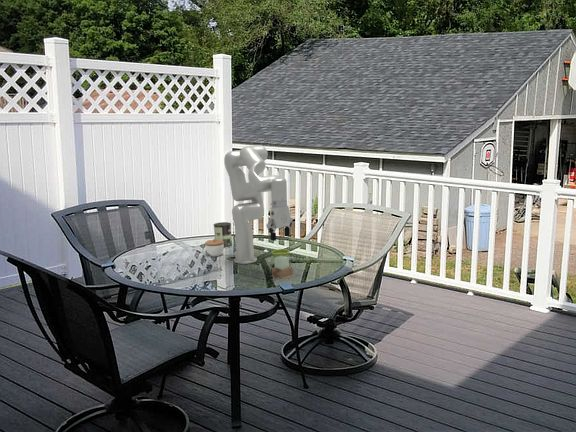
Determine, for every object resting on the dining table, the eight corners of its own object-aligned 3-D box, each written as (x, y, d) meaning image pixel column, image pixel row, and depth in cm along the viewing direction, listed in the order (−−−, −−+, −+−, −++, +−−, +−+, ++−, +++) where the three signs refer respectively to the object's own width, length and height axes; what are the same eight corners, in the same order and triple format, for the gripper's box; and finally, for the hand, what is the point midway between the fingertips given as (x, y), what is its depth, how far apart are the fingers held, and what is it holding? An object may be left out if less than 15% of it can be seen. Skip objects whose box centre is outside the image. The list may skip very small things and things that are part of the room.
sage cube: (274, 267, 294) (274, 257, 293) (281, 265, 297) (281, 255, 296) (282, 269, 290) (281, 259, 290) (289, 267, 294) (288, 257, 293)
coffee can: (233, 244, 368) (231, 221, 365) (231, 248, 357) (230, 225, 355) (216, 245, 368) (214, 222, 365) (214, 249, 358) (212, 225, 355)
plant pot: (284, 271, 307) (283, 254, 305) (268, 268, 312) (268, 252, 310) (293, 266, 314) (293, 250, 313) (278, 264, 319) (277, 248, 318)
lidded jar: (221, 251, 351) (220, 236, 349) (227, 255, 341) (226, 239, 339) (203, 254, 346) (202, 238, 344) (209, 258, 337) (208, 242, 335)
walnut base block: (272, 275, 295) (271, 267, 294) (282, 272, 300) (281, 264, 299) (282, 278, 290) (282, 270, 289) (292, 274, 295) (292, 266, 294)
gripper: (272, 207, 279) (273, 243, 283) (297, 201, 292) (298, 236, 295) (260, 205, 284) (262, 240, 288) (285, 199, 297) (286, 233, 300)
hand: (280, 238), depth 292 cm, fingers open, 9 cm apart
